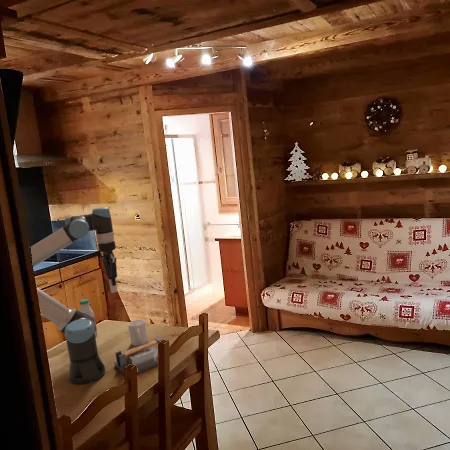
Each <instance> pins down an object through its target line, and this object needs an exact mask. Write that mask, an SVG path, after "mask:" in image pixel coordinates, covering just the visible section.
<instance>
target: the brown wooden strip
mask: <svg viewBox="0 0 450 450" xmlns="http://www.w3.org/2000/svg"><path fill="white" fill-rule="evenodd" d="M155 345H158V342H157V341H155V339H154V340H151V341H148V342H146V343H145V344H143V345H139V346H136V347H137V348H136V347H133V348H134V349H133V348H131V349H132V350H130V349H129V350H130V351H128V350H126V351H127V352H125V351H124V352H125V353H123V352H121V353H122V354H125V357H127V356H130V355H132V354H134V353H137V352H139V351H141V350H144V349H146V348H151V347H154V346H155ZM122 354H121V355H122ZM119 356H120V354H119V355H118V357H119Z"/></svg>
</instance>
